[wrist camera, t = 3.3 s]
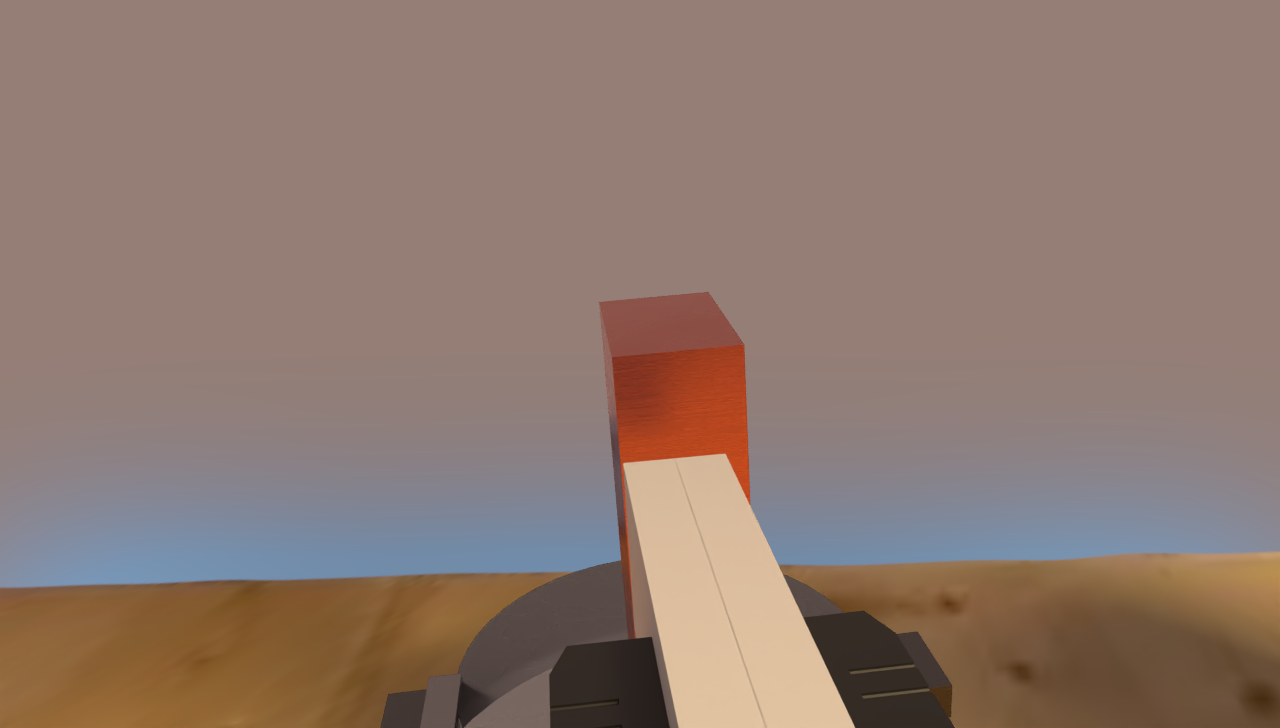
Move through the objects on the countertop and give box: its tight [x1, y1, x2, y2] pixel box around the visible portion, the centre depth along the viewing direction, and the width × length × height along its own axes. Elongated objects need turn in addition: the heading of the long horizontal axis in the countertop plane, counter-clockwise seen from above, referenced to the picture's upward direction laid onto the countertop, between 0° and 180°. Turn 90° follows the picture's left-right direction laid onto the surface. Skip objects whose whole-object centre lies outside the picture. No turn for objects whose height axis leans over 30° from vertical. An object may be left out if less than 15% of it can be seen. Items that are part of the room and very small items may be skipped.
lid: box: [464, 292, 750, 728], centre depth 21 cm, size 14×14×13 cm
